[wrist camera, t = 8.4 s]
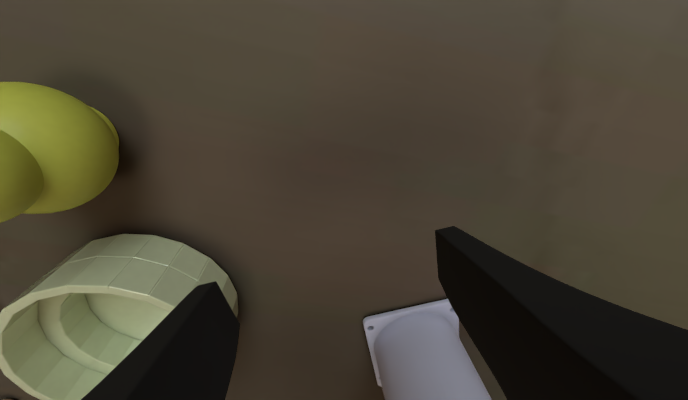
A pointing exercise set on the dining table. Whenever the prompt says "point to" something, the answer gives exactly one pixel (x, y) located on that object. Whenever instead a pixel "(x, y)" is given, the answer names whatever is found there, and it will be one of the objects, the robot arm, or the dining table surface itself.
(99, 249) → the bowl
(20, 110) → the pear
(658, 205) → the dining table surface
